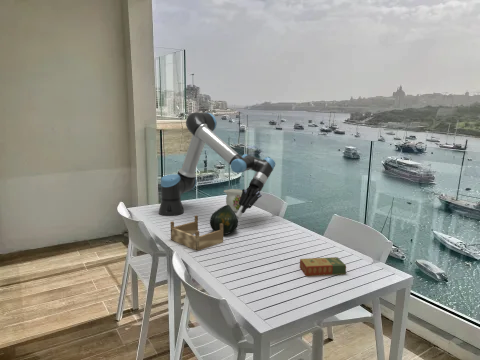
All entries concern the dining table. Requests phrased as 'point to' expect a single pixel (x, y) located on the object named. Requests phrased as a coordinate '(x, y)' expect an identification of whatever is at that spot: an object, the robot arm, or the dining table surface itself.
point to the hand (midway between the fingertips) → (237, 217)
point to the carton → (322, 266)
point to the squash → (224, 219)
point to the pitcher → (233, 198)
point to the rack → (196, 242)
